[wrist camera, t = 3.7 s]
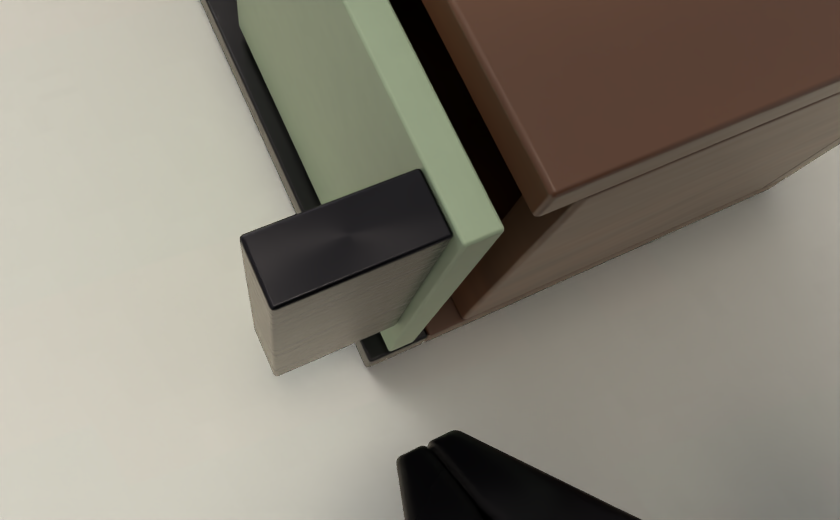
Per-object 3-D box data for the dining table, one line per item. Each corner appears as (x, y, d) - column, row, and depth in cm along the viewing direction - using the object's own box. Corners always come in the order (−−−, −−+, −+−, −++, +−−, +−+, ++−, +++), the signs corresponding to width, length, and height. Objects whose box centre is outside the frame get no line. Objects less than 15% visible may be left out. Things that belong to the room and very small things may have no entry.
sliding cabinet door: (415, 340, 16) (508, 229, 10) (279, 401, 16) (277, 324, 9) (263, 17, 18) (251, -274, 11) (134, 56, 17) (37, -232, 10)
